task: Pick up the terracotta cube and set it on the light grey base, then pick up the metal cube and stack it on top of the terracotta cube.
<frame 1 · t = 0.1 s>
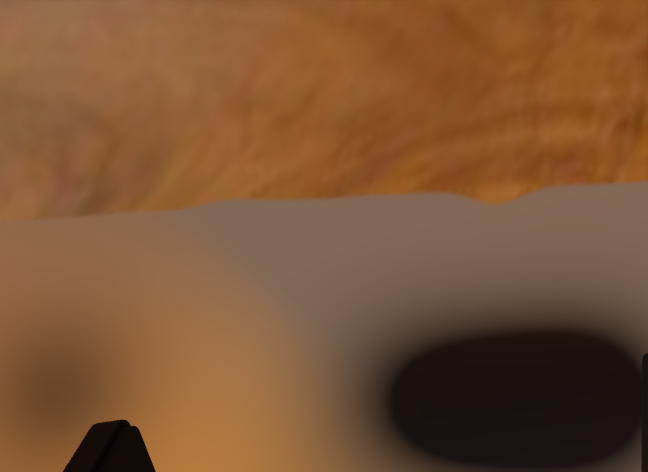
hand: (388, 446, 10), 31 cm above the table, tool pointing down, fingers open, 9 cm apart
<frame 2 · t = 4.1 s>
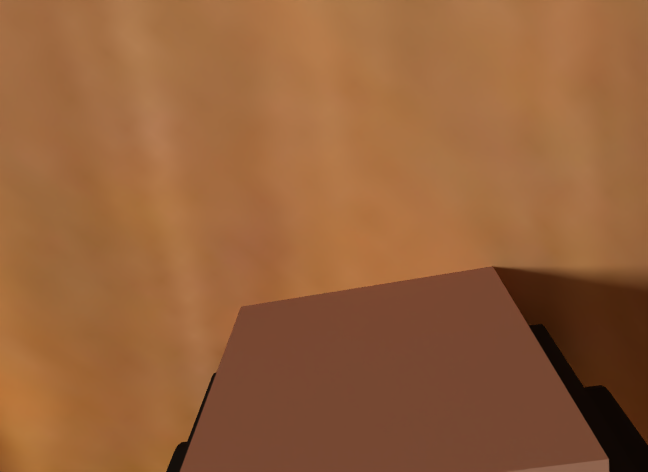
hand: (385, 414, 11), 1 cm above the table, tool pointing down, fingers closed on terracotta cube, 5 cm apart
terracotta cube: (383, 391, 12), on the table, touching gripper
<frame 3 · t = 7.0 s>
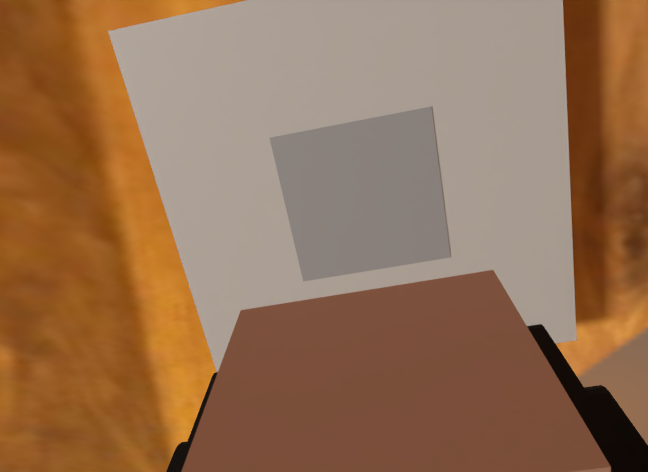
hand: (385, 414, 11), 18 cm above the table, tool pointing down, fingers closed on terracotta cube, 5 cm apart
grey base: (361, 181, 27), on the table
terracotta cube: (383, 394, 12), point 17 cm above the table, touching gripper
when the fingers open (5 cm above the table, at t = 9.7 s): terracotta cube drops 1 cm, resting on grey base.
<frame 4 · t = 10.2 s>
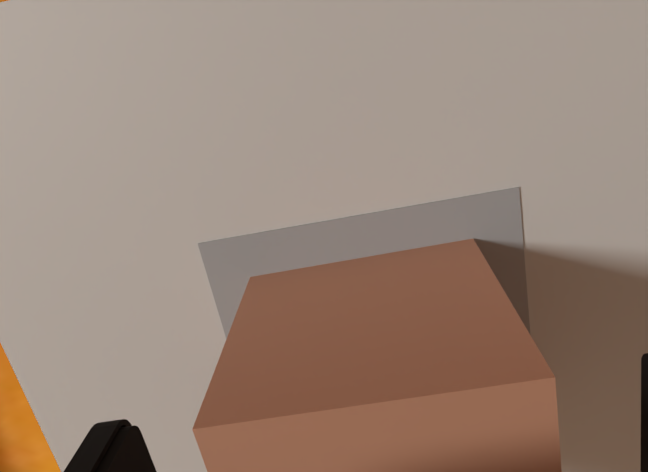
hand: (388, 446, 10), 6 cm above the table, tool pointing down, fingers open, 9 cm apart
grey base: (373, 294, 16), on the table
terracotta cube: (378, 353, 13), point 3 cm above the table, touching grey base
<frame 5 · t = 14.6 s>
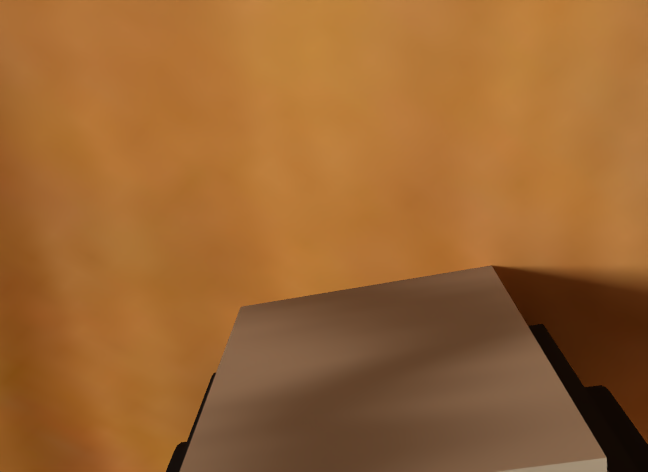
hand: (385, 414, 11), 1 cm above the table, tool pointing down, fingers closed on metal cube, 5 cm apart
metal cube: (383, 390, 12), on the table, touching gripper
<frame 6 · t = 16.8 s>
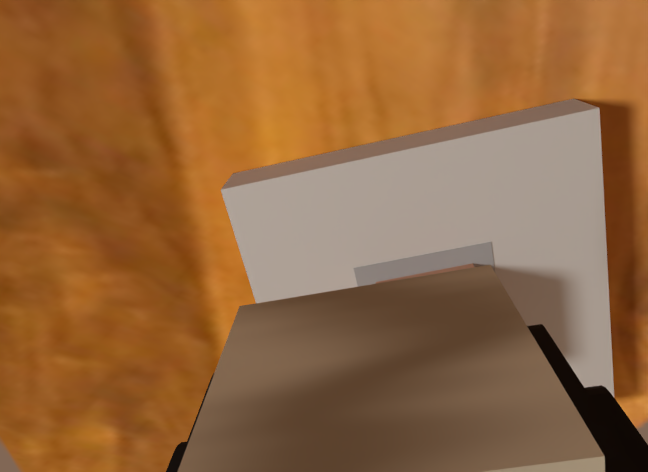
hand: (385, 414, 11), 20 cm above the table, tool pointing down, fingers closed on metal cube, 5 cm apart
grey base: (424, 288, 32), on the table
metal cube: (382, 389, 12), point 19 cm above the table, touching gripper
when the fingers open (10 cm above the table, at t = 19.5 s): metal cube drops 1 cm, resting on terracotta cube.
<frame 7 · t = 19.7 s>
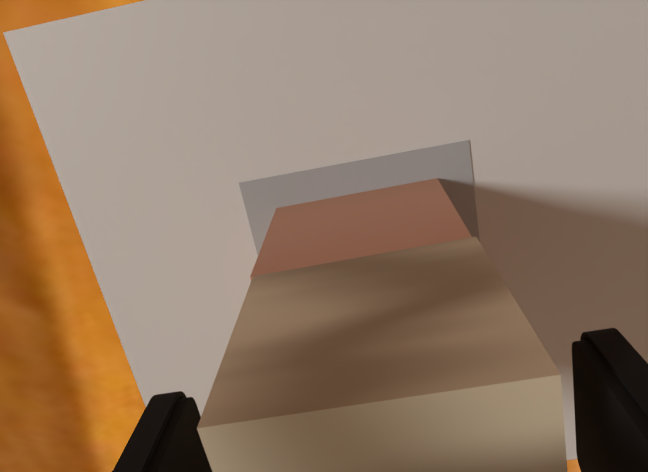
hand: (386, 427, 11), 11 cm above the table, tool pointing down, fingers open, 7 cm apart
grey base: (367, 233, 21), on the table
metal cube: (381, 352, 13), point 8 cm above the table, touching terracotta cube
terracotta cube: (369, 266, 18), point 3 cm above the table, touching grey base, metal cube
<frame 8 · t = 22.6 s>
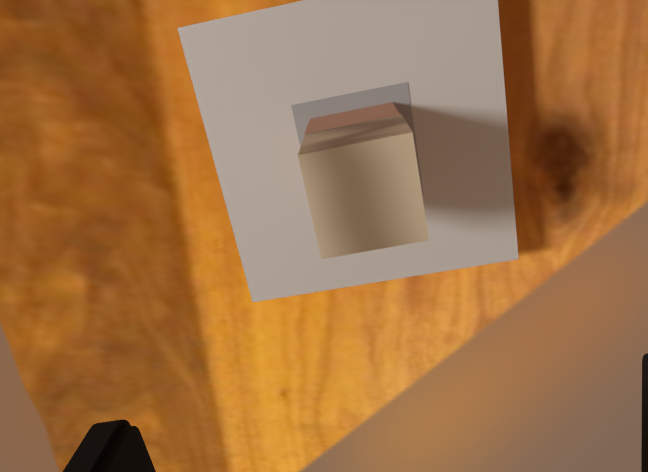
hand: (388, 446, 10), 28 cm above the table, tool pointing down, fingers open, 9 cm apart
grey base: (358, 141, 37), on the table
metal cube: (361, 170, 29), point 8 cm above the table, touching terracotta cube
terracotta cube: (358, 150, 34), point 3 cm above the table, touching grey base, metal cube
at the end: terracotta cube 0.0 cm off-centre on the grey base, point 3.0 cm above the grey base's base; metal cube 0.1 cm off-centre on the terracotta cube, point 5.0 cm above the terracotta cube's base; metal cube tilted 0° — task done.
